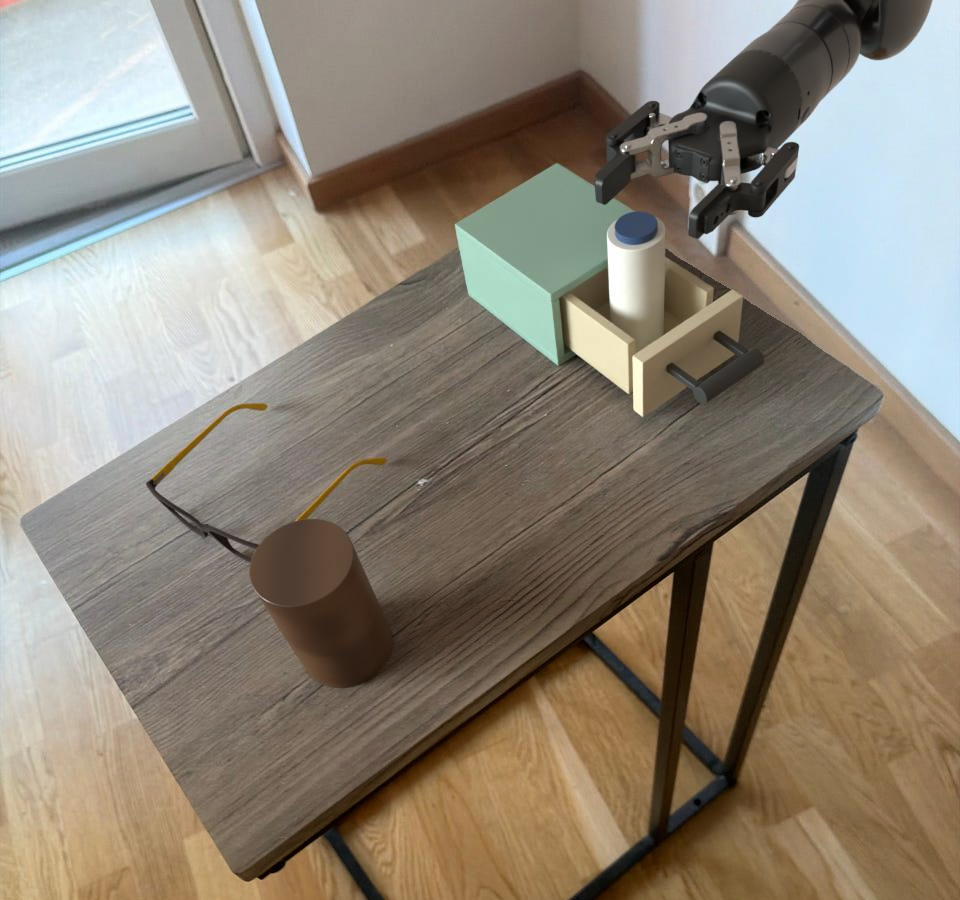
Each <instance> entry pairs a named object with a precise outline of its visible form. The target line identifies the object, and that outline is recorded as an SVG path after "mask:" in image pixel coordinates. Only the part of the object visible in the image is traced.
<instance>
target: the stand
mask: <svg viewBox="0 0 960 900" xmlns="http://www.w3.org/2000/svg"><path fill="white" fill-rule="evenodd" d="M251 558H252V559H251V563H250V562H249V568H248V569H249V570H248V573H249V576H248V577H249V580H250V584H251V586H252V589H253V590H254V592H255V593H256V595H257V597H258V598H259V600H260V601H261V603H262V605H263V606H264V608H265V609H266V610H267V611H266V612H268V614H269V615H270V617H271V618H272V620H273V621H274V623H275V625H276V627H277V628H278V630H279V631H280V633H281V634H282V636H283V637H284V639H285V640H286V642H287V644H288V645H289V647H290V649H291V650H292V651H293V653H294V654H295V656H296V657H297V659H298V661H299V662H300V664H301V666H302V667H303V668H304V670H305V672H306V673H307V675H309V677H310V678H311V679H312V680H314V681H315V682H317V683H318V684H320V685H323V686H325V687H329V688H335V689H345V688H351V687H355V686H358V685H361V684H364V683H365V682H367V681H368V680H370V679H372V678H373V677H375V676H376V675H377V674H378V673H379V672H380V671H381V670H382V669H383V668H384V666H385V665H386V663H387V661H388V660H389V657H390V656H391V653H392V650H393V633H392V629H391V627H390V625H389V622H388V620H387V618H386V616H385V614H384V611H383V609H382V607H381V605H380V602H379V599H378V598H377V596H376V594H375V591H374V589H373V586H372V584H371V583H370V580H369V578H368V575H367V573H366V571H365V569H364V567H363V564H362V562H361V560H360V558H359V556H358V553H357V551H356V549H355V547H354V544H353V542H352V539H351V538H350V536H349V534H348V533H347V532H346V531H345V530H344V529H343V528H342V527H341V526H339V525H338V524H335V523H334V522H331V521H329V520H325V519H321V518H307V519H304V520H298V521H296V520H295V521H292V522H288V523H286V524H284V525H282V526H280V527H278V528H276V529H275V530H273V531H272V532H270V533H268V535H267V536H266V537H264V539H263V540H262V541H261V542H260V543H259V546H258V547H257V549H255V551H254V553H253V555H252V557H251Z"/></svg>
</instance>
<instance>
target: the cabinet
mask: <svg viewBox="0 0 960 900" xmlns="http://www.w3.org/2000/svg"><path fill="white" fill-rule="evenodd" d="M630 212H636V210H634V209H633V208H631V207H629V206H627V204H625V203H623V202H621V201H619V200H618V199H616V198H615V197H614V198H613V199H612V200H611V201H609V202H608V203H607V204H606V205H603V204H601V203H598V202H596V195H595V184H594V185H593V184H592V183H591V182H589V181H587V180H586V179H584V178H582V177H580V175H577V174H576V173H574V172H572V170H570V169H568V168H567V167H564V166H563V165H562V164H560V163H558V162H556V163H554V164H552V165H551V166H550V167H548V168H546V169H544V170H543V171H541V172H539V173H538V174H536V175H534V176H533V177H531V178H530V179H527V180H526V181H524V182H523V183H521V184H520V185H518V186H516V187H514V188H512V189H511V190H509V191H508V192H506V193H504V194H502V195H501V196H499V197H498V198H496V199H494V200H493V201H491V202H489V203H487V204H486V205H484V206H483V207H481V208H479V209H478V210H476V211H474V212H472V213H471V214H469V215H468V216H466V217H464V218H463V219H460V220H459V221H458V222H455V223H454V227H455V234H456V240H457V244H458V250H459V255H460V259H461V264H462V265H461V266H462V270H463V275H464V279H465V285H466V289H467V295H468V296H469V297H470V298H471V299H473V300H474V301H475V302H476V303H477V304H479V305H480V306H482V307H483V308H484V309H486V310H487V311H488V312H489V313H491V314H492V315H493V316H494V317H495V318H497V319H498V320H499V321H500V322H502V323H503V324H504V325H506V326H507V327H508V328H510V330H512V331H513V332H514V333H516V334H517V335H518V336H520V337H521V338H522V339H523V340H525V342H527V343H528V344H530V345H531V346H532V347H534V348H535V349H536V350H537V351H538V352H539V353H541V354H542V355H543V356H545V357H546V358H547V359H549V360H550V361H551V362H552V363H554V364H555V365H556V366H558V367H559V366H561V365H563V364H564V363H566V362H567V361H569V360H570V359H572V358H573V357H575V356H576V355H577V354H576V353H574V352H573V351H572V350H571V349H569V348H568V347H567V346H565V345H564V344H563V335H562V324H561V314H560V304H559V298H560V297H561V296H563V295H564V294H566V293H568V292H569V291H571V290H572V289H574V288H575V287H577V286H579V285H580V284H582V283H583V282H585V281H586V280H588V279H590V278H591V277H593V276H594V275H596V274H597V273H599V272H601V271H602V270H604V269H605V268H607V267H608V249H607V232H608V229H609V227H610V226H611V224H613V223H614V222H615V221H616V220H618V219H619V218H620V217H621V216H623V215H625V214H627V213H630Z"/></svg>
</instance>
